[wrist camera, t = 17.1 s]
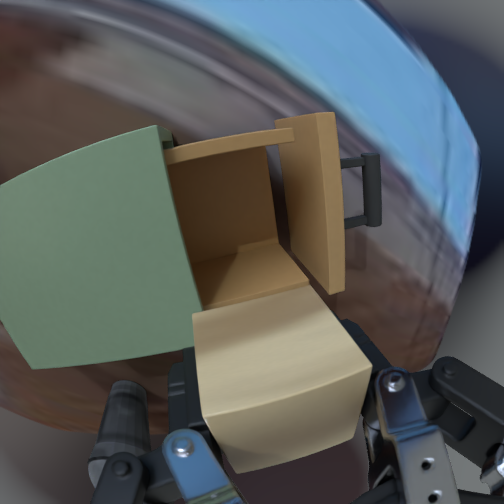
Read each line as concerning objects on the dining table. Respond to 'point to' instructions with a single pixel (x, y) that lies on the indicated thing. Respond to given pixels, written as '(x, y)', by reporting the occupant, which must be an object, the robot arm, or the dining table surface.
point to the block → (278, 378)
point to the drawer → (267, 209)
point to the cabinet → (96, 256)
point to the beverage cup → (121, 426)
